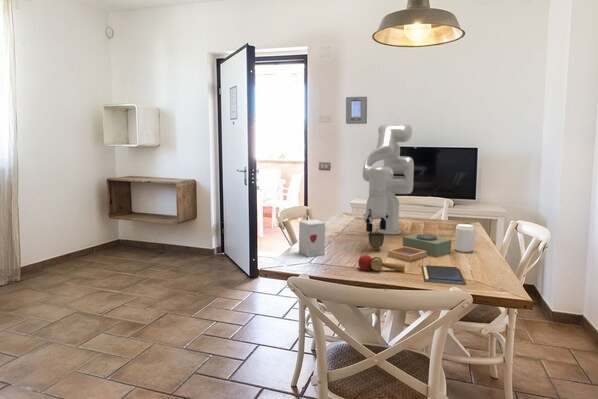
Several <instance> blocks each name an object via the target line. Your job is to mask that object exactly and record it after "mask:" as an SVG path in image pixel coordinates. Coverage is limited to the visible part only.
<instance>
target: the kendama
mask: <svg viewBox="0 0 598 399" xmlns="http://www.w3.org/2000/svg"><path fill="white" fill-rule="evenodd" d="M357 264H358V267H359V268H360V269H361V270H362V271H369V270H374V271H380V270H381V269H382V268H386V269H390V270H393V271H398V272H401V273H405V268H406V265H405V264H402V263H401V264H400V263H392V262H383V259H382V258H381V257H380V256H374V257H371V256H370V255H367V254H364V255H361V256H360V257H359V258H358V263H357Z"/></svg>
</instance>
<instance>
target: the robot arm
mask: <svg viewBox="0 0 598 399" xmlns="http://www.w3.org/2000/svg"><path fill="white" fill-rule="evenodd" d="M377 132H378V138H377V143H376V144H377V145H376V149H374V150H373V151H372V152H370V153H369V154H368V155H367V157H366V158H365V160H364V164H363V168H362V179H363V180H364V181H366V182H368V184H369V185H368V197H367V200H366V205H365V206H366V207H365V212H364V213H363V216H362V217H363V219H364V222H365V224H366V226H365V228H366V229H365V231H366V232H367V233H370V232H371V233H373V225H374V224H373V221H374V220H379V219H380V220H379V222H377V224H376V225H375V226H376V228H377V227H378V230H377V232H378V233H379V234H380V232H381V234H382V233H383V234H384V235H400V234H401V233H402V229H399V218H400V216H399V215H400V200H399V198H398V196H396V194H398V195H408V194H409V195H410V194H412V192H413V190H414V171H415V162H414V159H413V158H412V157H410V156H403V155H402V156H401V155H400V154H401V147H400V144H399V143H407V142H409V140H410V139H411V138H412V134H413V129H412V126H411V125H410V124H409V123H398V124H397V123H390V124H389V123H388V124H386V123H385V124H382V125H380V126H379V127H378V131H377ZM382 160H383V165H381V166H380V165H377V166H376V165H374V164H375V163H377V162H379V161H382ZM397 175H398V176H397ZM399 175H404V176H399Z"/></svg>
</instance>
